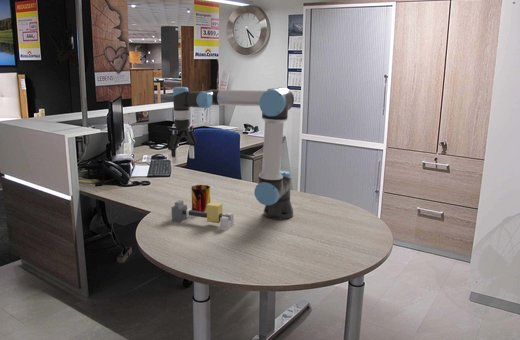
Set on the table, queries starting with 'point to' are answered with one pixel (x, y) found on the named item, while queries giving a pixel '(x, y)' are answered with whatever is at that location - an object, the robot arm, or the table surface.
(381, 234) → the table surface
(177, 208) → the block
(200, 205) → the mug
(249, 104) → the robot arm
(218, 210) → the sleeve
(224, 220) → the gray notched block
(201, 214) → the dark grey rod
